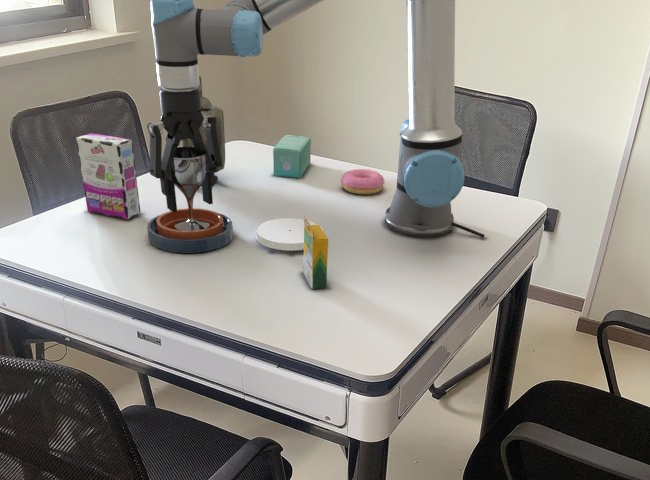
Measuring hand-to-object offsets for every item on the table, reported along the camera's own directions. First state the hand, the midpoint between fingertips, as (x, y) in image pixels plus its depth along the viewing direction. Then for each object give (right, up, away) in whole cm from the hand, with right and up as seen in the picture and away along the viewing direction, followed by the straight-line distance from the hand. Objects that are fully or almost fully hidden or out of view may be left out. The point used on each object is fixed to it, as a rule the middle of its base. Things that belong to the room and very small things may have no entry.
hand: (190, 205), depth 148 cm
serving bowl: (-1, -6, +4) cm, 7 cm away
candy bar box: (-20, +1, +14) cm, 24 cm away
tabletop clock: (-4, +14, +34) cm, 37 cm away
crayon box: (+26, -17, -11) cm, 33 cm away
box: (+17, +20, +46) cm, 53 cm away
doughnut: (+35, +12, +35) cm, 52 cm away
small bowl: (-1, -6, +4) cm, 7 cm away
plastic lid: (+20, -7, +5) cm, 22 cm away
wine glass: (0, -4, +2) cm, 4 cm away
